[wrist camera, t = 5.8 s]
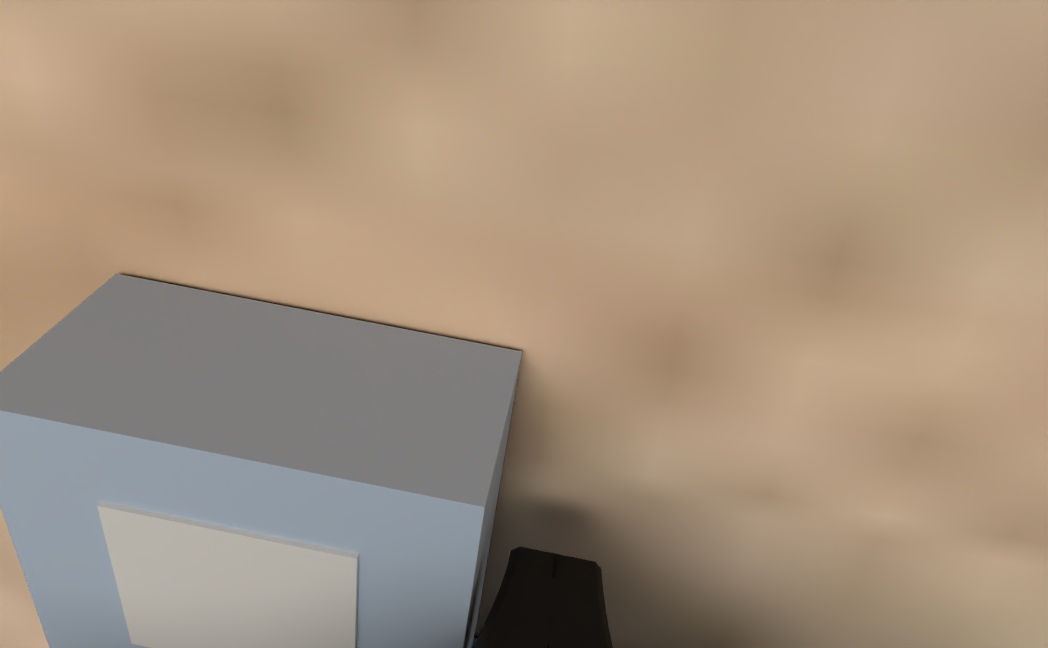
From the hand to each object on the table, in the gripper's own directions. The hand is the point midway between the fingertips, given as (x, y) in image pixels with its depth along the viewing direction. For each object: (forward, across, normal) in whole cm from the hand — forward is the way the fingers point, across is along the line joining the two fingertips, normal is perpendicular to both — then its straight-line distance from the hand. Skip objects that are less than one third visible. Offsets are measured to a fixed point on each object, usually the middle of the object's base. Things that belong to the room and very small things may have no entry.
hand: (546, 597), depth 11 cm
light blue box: (+2, +4, 0) cm, 4 cm away
